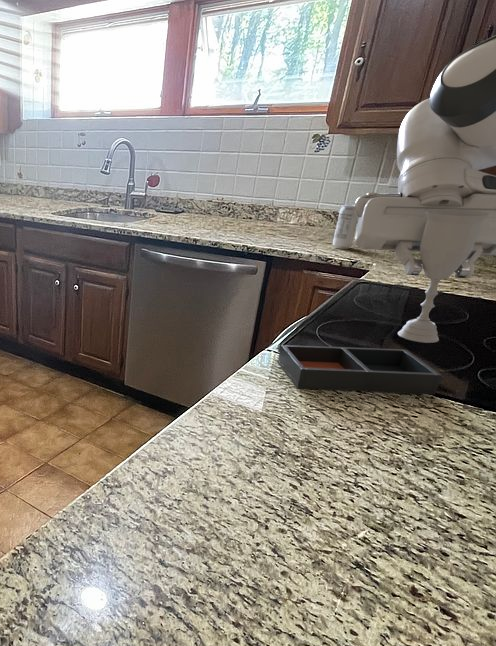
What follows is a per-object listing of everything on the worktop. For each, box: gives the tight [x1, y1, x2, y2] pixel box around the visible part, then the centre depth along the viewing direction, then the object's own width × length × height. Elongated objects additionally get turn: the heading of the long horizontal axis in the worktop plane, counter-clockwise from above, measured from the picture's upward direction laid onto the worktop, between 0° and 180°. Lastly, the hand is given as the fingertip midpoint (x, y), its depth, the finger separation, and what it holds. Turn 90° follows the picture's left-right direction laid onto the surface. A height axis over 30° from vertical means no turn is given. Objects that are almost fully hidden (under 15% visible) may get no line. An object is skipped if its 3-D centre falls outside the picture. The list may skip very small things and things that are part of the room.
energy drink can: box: [332, 203, 359, 250], centre depth 189 cm, size 6×6×15 cm
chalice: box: [397, 209, 489, 344], centre depth 74 cm, size 7×7×18 cm
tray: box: [277, 344, 443, 396], centre depth 92 cm, size 21×11×4 cm, turn 81°
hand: (439, 274), depth 74 cm, fingers closed on chalice, 5 cm apart
